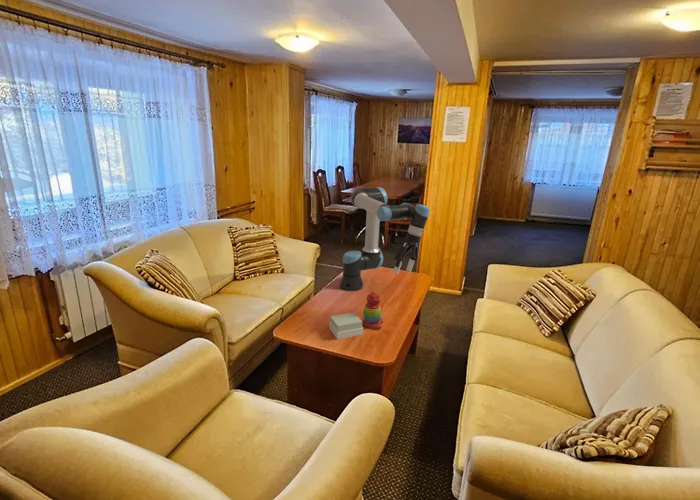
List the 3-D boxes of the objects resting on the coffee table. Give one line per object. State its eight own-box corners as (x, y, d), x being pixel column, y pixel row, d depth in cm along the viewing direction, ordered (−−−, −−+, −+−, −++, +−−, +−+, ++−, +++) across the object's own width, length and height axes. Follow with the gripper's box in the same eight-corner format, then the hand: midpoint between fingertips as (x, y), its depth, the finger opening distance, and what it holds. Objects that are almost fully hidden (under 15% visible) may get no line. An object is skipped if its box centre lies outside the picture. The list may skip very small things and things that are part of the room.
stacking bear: (380, 330, 194) (382, 298, 189) (361, 327, 196) (362, 296, 191) (383, 320, 204) (384, 290, 199) (364, 318, 206) (365, 288, 201)
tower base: (329, 328, 195) (329, 315, 193) (354, 323, 200) (354, 311, 198) (337, 339, 185) (337, 326, 183) (363, 334, 190) (363, 321, 188)
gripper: (408, 236, 184) (395, 276, 189) (431, 236, 203) (419, 272, 208) (396, 231, 188) (384, 270, 193) (419, 232, 208) (407, 267, 213)
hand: (402, 271), depth 201 cm, fingers open, 13 cm apart
